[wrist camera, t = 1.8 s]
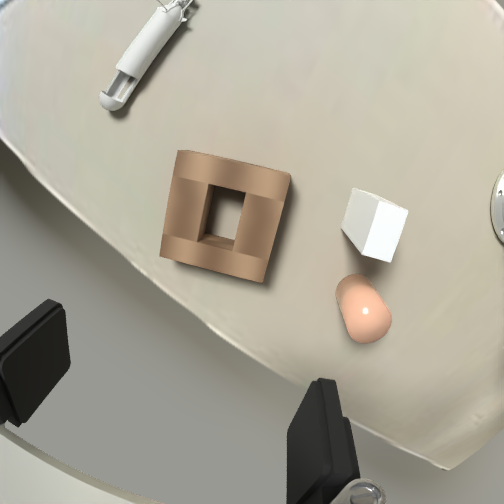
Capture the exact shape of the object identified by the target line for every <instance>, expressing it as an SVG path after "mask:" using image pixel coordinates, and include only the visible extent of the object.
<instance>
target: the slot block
mask: <svg viewBox="0 0 504 504" xmlns="http://www.w3.org/2000/svg"><path fill="white" fill-rule="evenodd" d="M290 179H291V175H290V174H289V173H285V172H282V171H278V170H274V169H270V168H266V167H262V166H258V165H254V164H249V163H245V162H241V161H236V160H232V159H228V158H223V157H218V156H214V155H209V154H204V153H199V152H194V151H189V150H178V152H177V157H176V162H175V167H174V172H173V177H172V182H171V187H170V193H169V198H168V204H167V210H166V216H165V222H164V229H163V235H162V242H161V249H160V257H164V258H168V259H171V260H175V261H179V262H183V263H186V264H190V265H194V266H198V267H201V268H205V269H209V270H213V271H217V272H221V273H225V274H228V275H232V276H236V277H240V278H244V279H248V280H252V281H256V282H260V283H263V279H264V276H265V272H266V268H267V265H268V261H269V257H270V254H271V250H272V246H273V243H274V239H275V235H276V232H277V228H278V224H279V221H280V217H281V213H282V209H283V206H284V202H285V198H286V194H287V190H288V187H289V183H290ZM215 185H217V186H221V187H225V188H230V189H234V190H238V191H242V192H246V196H245V200H244V204H243V208H242V212H241V217H240V221H239V225H238V229H237V234H236V238H235V240H232V239H228V238H224V237H220V236H216V235H212V234H208V233H205V230H206V225H207V220H208V215H209V210H210V205H211V201H212V196H213V191H214V187H215Z"/></svg>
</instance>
